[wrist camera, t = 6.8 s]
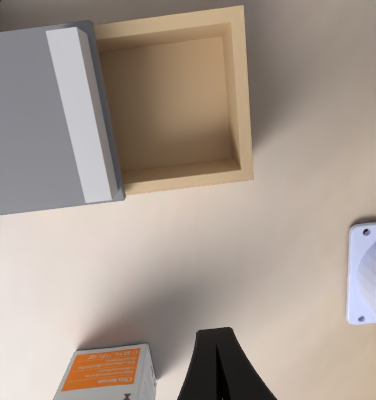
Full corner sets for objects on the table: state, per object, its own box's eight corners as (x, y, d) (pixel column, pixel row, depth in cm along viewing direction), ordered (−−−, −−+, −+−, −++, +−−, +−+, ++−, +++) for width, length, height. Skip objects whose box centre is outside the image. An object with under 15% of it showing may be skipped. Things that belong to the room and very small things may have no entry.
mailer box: (230, 25, 18) (243, 4, 14) (240, 164, 20) (253, 179, 16) (-13, 57, 18) (-66, 46, 14) (26, 190, 20) (-11, 211, 17)
